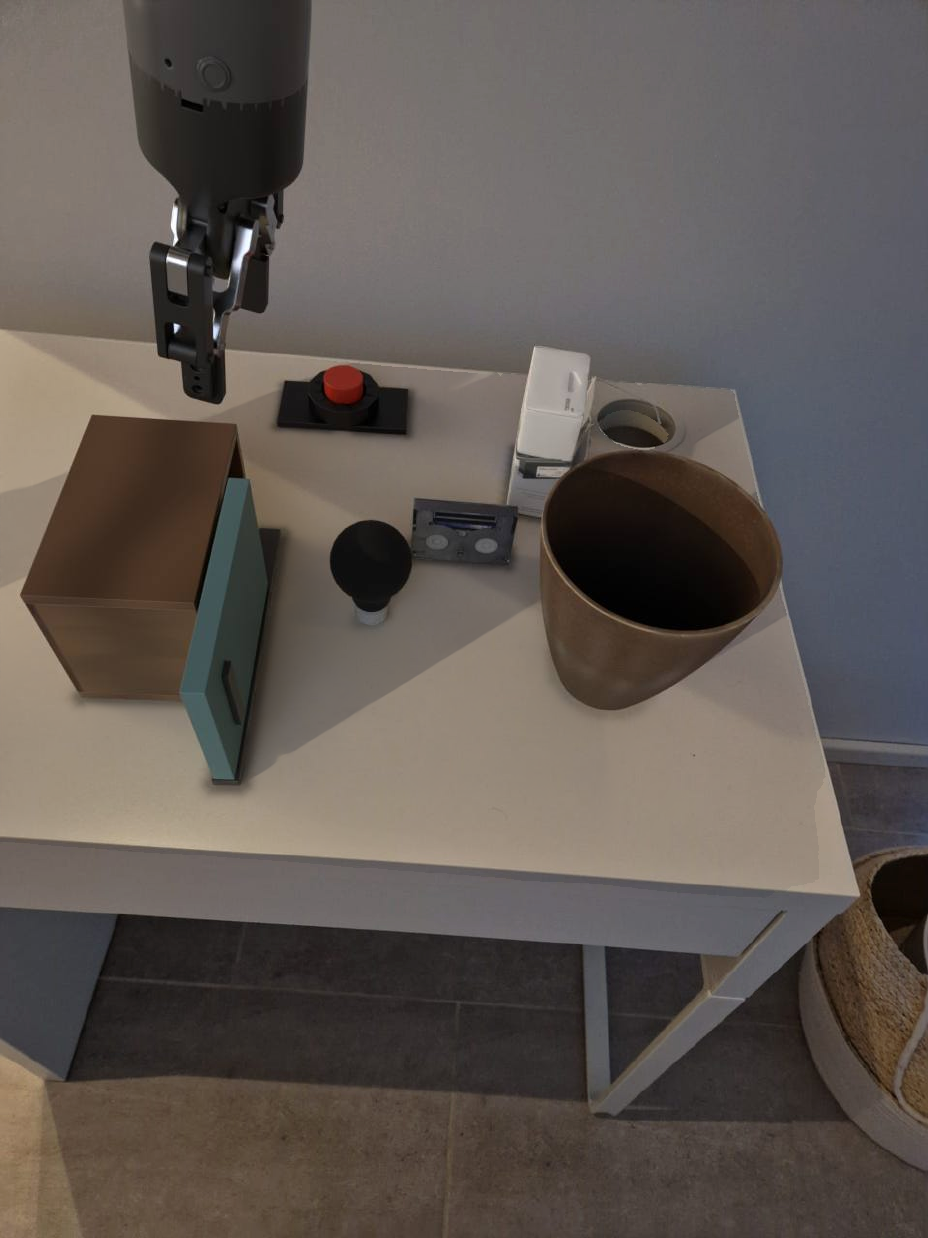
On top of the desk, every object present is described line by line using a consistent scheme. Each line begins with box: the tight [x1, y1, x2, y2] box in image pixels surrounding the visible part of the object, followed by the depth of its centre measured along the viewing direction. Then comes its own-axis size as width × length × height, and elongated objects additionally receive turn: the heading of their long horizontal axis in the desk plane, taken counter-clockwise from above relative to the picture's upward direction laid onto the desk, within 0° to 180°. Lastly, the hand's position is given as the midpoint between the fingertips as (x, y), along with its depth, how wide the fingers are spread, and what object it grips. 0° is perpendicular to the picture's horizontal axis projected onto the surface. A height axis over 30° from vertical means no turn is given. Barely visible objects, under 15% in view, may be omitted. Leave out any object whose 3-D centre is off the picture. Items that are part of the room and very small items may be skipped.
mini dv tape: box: [410, 497, 519, 566], centre depth 64 cm, size 8×2×6 cm, turn 89°
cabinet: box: [19, 414, 282, 787], centre depth 55 cm, size 12×23×12 cm, turn 1°
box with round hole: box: [571, 375, 662, 468], centre depth 74 cm, size 14×8×5 cm, turn 170°
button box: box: [276, 369, 409, 436], centre depth 75 cm, size 12×6×2 cm, turn 91°
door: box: [179, 478, 268, 780], centre depth 53 cm, size 2×17×11 cm, turn 1°
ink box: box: [506, 345, 592, 519], centre depth 68 cm, size 8×5×12 cm, turn 172°
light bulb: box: [329, 519, 413, 626], centre depth 58 cm, size 6×6×10 cm
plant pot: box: [539, 449, 784, 711], centre depth 55 cm, size 15×15×16 cm
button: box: [324, 364, 363, 404], centre depth 74 cm, size 4×4×2 cm
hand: (228, 350), depth 47 cm, fingers open, 8 cm apart
